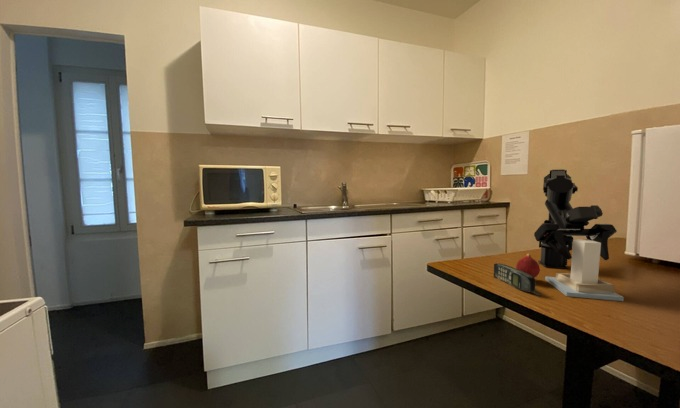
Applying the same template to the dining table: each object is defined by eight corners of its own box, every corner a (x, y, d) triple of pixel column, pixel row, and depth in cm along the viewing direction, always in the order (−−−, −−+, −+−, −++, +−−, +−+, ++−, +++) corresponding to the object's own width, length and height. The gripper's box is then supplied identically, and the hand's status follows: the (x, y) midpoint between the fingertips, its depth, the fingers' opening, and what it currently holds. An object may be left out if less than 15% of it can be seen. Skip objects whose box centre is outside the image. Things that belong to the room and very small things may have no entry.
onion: (542, 284, 79) (544, 257, 79) (520, 283, 81) (522, 256, 80) (533, 277, 85) (534, 252, 84) (512, 276, 86) (513, 251, 85)
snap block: (569, 283, 78) (573, 239, 77) (585, 283, 78) (588, 239, 76) (581, 288, 74) (584, 242, 73) (597, 289, 74) (601, 242, 72)
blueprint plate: (566, 296, 72) (566, 292, 72) (545, 279, 83) (545, 276, 83) (623, 301, 69) (623, 297, 69) (593, 283, 80) (593, 280, 80)
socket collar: (555, 279, 80) (556, 273, 80) (587, 280, 80) (587, 273, 79) (578, 291, 72) (578, 284, 72) (614, 293, 71) (614, 285, 71)
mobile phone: (492, 262, 86) (534, 278, 71) (500, 261, 86) (544, 277, 71) (491, 278, 86) (533, 297, 71) (500, 277, 87) (543, 296, 72)
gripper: (542, 195, 78) (568, 242, 69) (613, 195, 77) (650, 243, 67) (525, 218, 87) (545, 263, 77) (588, 219, 85) (618, 265, 76)
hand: (588, 259), depth 74 cm, fingers open, 9 cm apart
